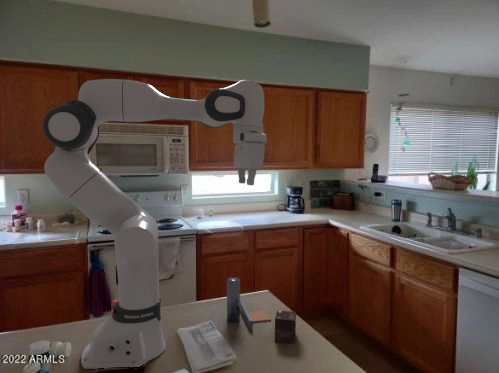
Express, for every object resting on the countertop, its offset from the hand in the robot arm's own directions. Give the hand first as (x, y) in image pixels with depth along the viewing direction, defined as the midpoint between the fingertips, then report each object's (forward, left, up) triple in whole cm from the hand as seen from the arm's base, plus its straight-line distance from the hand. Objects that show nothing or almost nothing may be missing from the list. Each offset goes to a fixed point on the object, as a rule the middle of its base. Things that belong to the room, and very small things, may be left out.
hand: (246, 184), depth 104 cm
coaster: (+7, +12, -47) cm, 49 cm away
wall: (+3, +12, -47) cm, 49 cm away
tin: (-2, +12, -47) cm, 49 cm away
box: (+12, -3, -48) cm, 49 cm away
